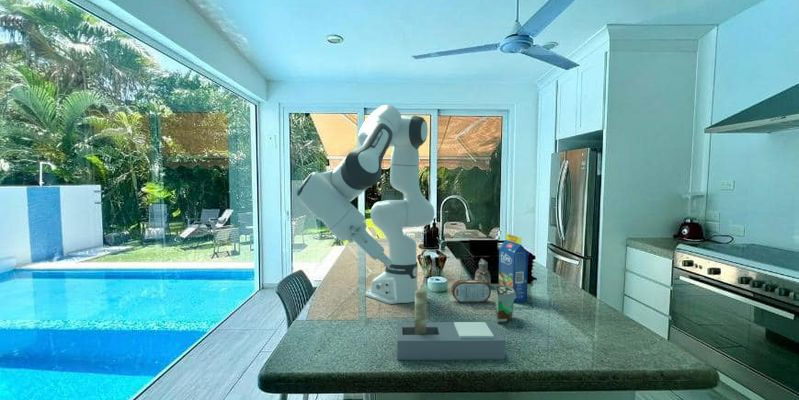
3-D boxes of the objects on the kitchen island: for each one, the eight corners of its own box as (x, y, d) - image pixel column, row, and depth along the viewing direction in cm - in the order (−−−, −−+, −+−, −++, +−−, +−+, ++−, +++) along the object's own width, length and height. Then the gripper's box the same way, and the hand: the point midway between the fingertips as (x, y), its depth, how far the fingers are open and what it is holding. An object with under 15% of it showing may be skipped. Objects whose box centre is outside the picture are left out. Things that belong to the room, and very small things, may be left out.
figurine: (474, 288, 152) (474, 260, 151) (473, 283, 159) (474, 257, 158) (491, 289, 151) (491, 261, 150) (489, 284, 158) (490, 258, 157)
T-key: (406, 351, 95) (406, 293, 94) (405, 346, 98) (405, 289, 97) (435, 351, 95) (435, 293, 94) (434, 345, 98) (434, 289, 97)
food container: (517, 327, 111) (518, 296, 110) (497, 325, 112) (498, 294, 112) (513, 313, 123) (513, 285, 122) (495, 311, 124) (495, 284, 124)
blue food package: (511, 292, 146) (513, 233, 145) (527, 301, 135) (528, 237, 133) (498, 292, 145) (499, 233, 144) (512, 302, 134) (513, 238, 132)
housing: (397, 359, 90) (397, 338, 90) (396, 339, 102) (396, 320, 102) (504, 359, 91) (505, 338, 90) (491, 338, 103) (491, 319, 102)
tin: (489, 300, 136) (489, 279, 136) (491, 303, 133) (492, 281, 133) (451, 300, 136) (451, 279, 135) (452, 303, 133) (452, 281, 132)
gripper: (362, 219, 81) (403, 259, 83) (353, 213, 101) (386, 246, 103) (343, 239, 80) (385, 279, 82) (338, 229, 100) (372, 262, 102)
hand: (386, 260), depth 93 cm, fingers open, 8 cm apart
